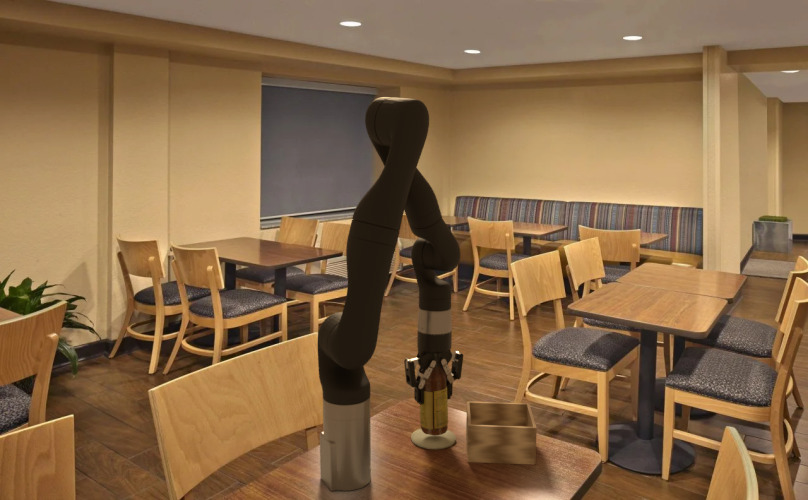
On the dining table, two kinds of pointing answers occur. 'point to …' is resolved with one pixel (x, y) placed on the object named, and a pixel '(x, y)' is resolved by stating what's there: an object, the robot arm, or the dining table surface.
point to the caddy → (500, 433)
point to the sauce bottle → (435, 400)
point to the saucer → (433, 440)
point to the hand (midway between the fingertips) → (433, 400)
